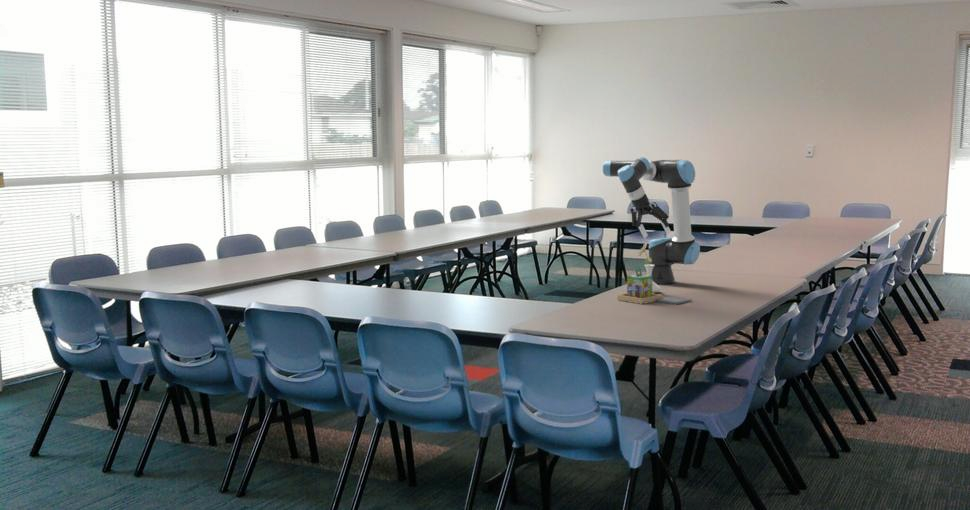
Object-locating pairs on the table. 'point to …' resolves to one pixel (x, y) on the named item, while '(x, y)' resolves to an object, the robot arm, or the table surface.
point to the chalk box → (639, 285)
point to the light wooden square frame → (638, 300)
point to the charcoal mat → (673, 300)
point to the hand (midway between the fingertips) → (657, 235)
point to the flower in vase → (649, 270)
